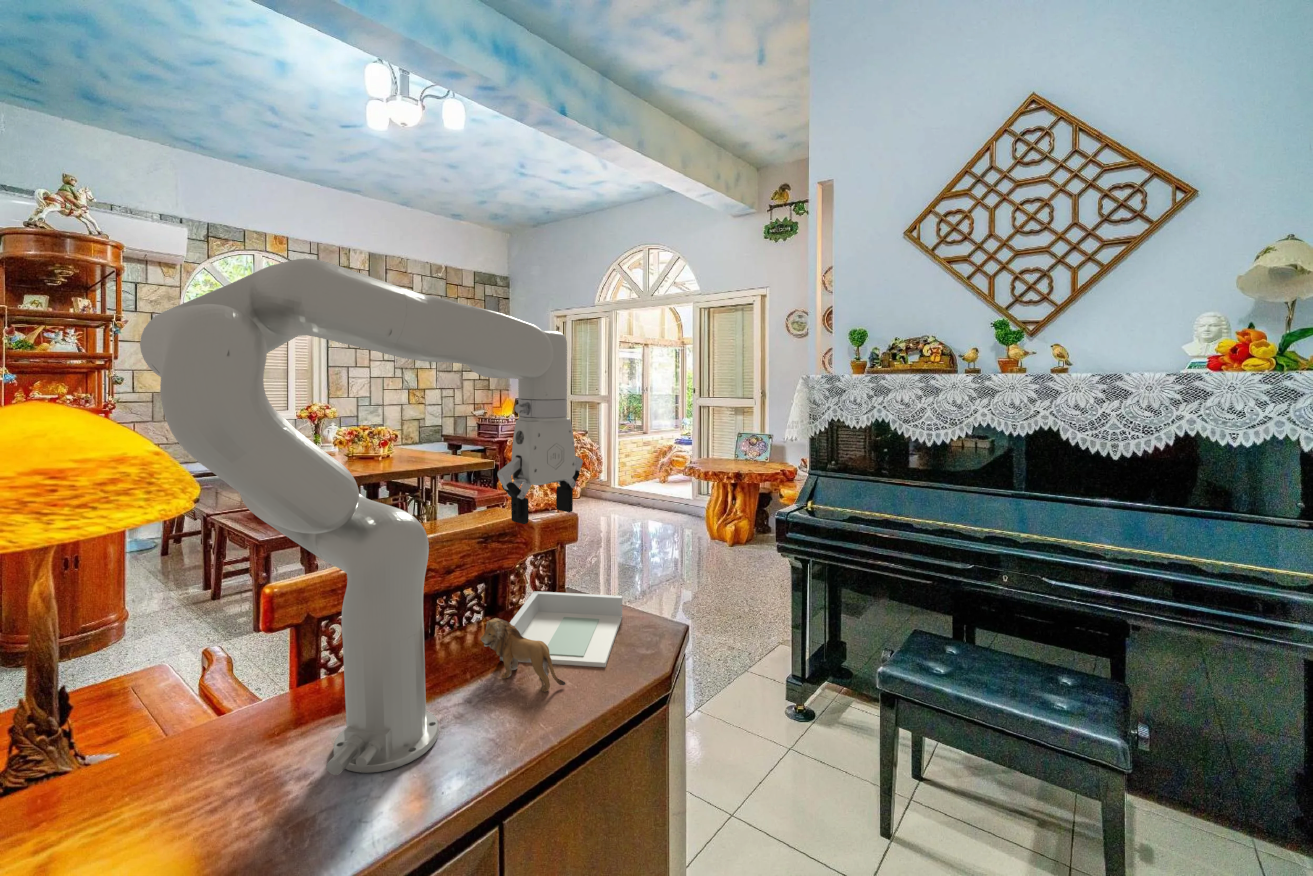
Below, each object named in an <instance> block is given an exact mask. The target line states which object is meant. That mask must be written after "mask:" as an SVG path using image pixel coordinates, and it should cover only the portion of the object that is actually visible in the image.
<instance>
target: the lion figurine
mask: <svg viewBox="0 0 1313 876" xmlns="http://www.w3.org/2000/svg"><path fill="white" fill-rule="evenodd" d="M485 624H486V626H485V632H484V634H483V635H482V636H480V640H481V642H482V643H483V646H484V647H489V648H490V649H491V650H493V651H495V652H496V655H497V656H498V657H500V656H501V657H503V661H502V662H503V666H504V669H505V672H503V673H502V674H501V678H502V679H508V678H510V677H511V676H512V671H516V670H517V669H518V667H519V662H518V660H519V661H522V662H521V663H529V662H530V661H531V666H532V668H533V670H534V672H535V673H536V675H537V676H538V677H539V678H540V679H541V680H542V683H543V684H542V685H541V691H542V692H544V693H546V692H548V691H549V690H550V687H551V684H550V679H549V674H551V676H552V679H554V681H555V682H556V683H557V684H558V685H559V686H566V682H565V681H564V680H563V679H559V677H557V676H556V673H555V670H554V664H552V661H551V657H550V654H549V648H548V646H547V645H546V644H545V643H544V642H542V641H535V640H529V639H527V638H524V637H522V636H521V634H520V633H519V631H518V630H517V629H516V628H515V626H513V625H511V623H510V622H509V621H507V620H504V619H501V618H498V617H495V618H492V619H489V620H487V621H486V623H485Z"/></svg>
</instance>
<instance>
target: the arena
mask: <svg viewBox="0 0 1313 876" xmlns="http://www.w3.org/2000/svg"><path fill="white" fill-rule="evenodd" d="M620 605H622V606H620ZM622 620H623V595H613V594H612V595H611V594H610V595H609V594H595V593H594V594H593V593H592V594H591V593H575V592H574V593H573V592H559V591H558V592H557V591H555V592H553V591H540V590H539V591H538V590H537V591H533V592H532V593H531V594H530V596H529V597H528V598H527V599H526V600H525V602H524V603H523V604H522V606H521V607H520V609H519V610H518V611H517V612H516V614H515V615H514V616H513V618H511V620H510V622H509V623H511V625H513V626H515V628H516V629H517V630H518V631H519V633H520V634H521V636H522V637H524V638H527V639H529V640H535V641H542V642H544V643H545V644H546V645H547V646H548V648H549V654H550V657H551V661H552V665H561V666H564V665H566V666H576V667H577V666H579V667H596V668H606V666H607V663H608V660H609V657H610V654H611V651H612V649H613V647H614V643H615V640H616V637H617V634H618V631H619V627H620V625H621V623H622ZM499 661H501V662H503V657H501V656H499ZM518 663H523V662H522V661H519V660H518ZM528 663H531V661H530V662H528ZM531 664H532V663H531Z"/></svg>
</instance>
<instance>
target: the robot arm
mask: <svg viewBox="0 0 1313 876" xmlns="http://www.w3.org/2000/svg"><path fill="white" fill-rule="evenodd" d="M301 336H305V337H306V336H307V337H314V338H318V339H323V340H326V341H331V342H335V343H339V344H344V345H348V346H352V347H356V348H361V349H364V350H365V349H366V350H369V351H372V352H373V351H374V352H377V353H380V354H384V355H389V356H392V357H393V356H394V357H396V358H400V359H401V358H402V359H405V360H406V359H407V360H412V361H413V360H414V361H420V362H428V363H450V364H452V363H453V364H461V365H467V366H468V368H469V369H470V370H471V371H473V373H475V374H477V375H479V376H482V377H485V378H489V379H490V378H491V379H511V380H512V379H513V380H518V381H517V386H518V387H517V388H518V395H517V396H518V404H517V403H516V405H515V406H514V411H515V412H516V414H518V419H516V421H515V425H514V429H513V438H512V446H511V447H512V449H511V461H509V462H508V463H507V464H506V465H505V466H503V467H501V469H500V470H498V471H497V477H498V480H499V482H500V485H501V487H502V490H504V491H505V492H506V493H507V497H509V498H511V503H510V505H511V508H510V509H511V510H510V511H511V512H510V513H511V514H510V516H511V521H512V522H514V523H517V524H522V525H526V524H528V523H529V521H530V520H529V516H530V515H529V498H528V497H526V496H527V494H528V492H529V491H530V489H531V487H532V486H543V485H548V484H553V483H554V484H555V483H558V486H556V494H555V495H556V499H555V500H556V505H555V508H556V510H558V511H560V512H565V513H572V512H573V510H574V508H573V506H574V505H573V499H574V497H573V496H574V491H573V489H574V488H576V485H577V484H576V481H577V480H578V478H579V476H580V471H581V468H582V465H583V462H584V460H583V459H582V458H581V457H578V456H577V455H576V450H575V438H574V431H573V430H574V429H573V425H572V422H571V421H572V420H571V418H568V340H567V338H566V336H565V334H563V333H562V332H559V331H553V330H542V329H541V328H539V326H537V325H535V324H532V323H529V322H527V321H523V320H521V319H518V318H516V317H513V316H510V315H506V314H505V313H500V312H497V311H494V310H490V309H486V308H482V307H478V306H473V305H470V304H463V303H461V302H455V301H453V300H449V299H445V298H442V297H436V296H431V295H428V294H424V293H421V292H418V291H417V292H416V291H413V290H410V289H407V288H405V287H401V286H399V285H395V284H392V283H389V282H388V281H387V282H386V281H384V280H382V279H378V278H375V277H373V276H369V275H367V274H363V273H361V272H358V271H355V270H352V269H349V268H346V267H343V266H341V265H337V264H334V263H331V262H328V261H324V260H321V259H320V260H319V259H316V258H315V259H314V258H306V257H305V258H297V259H292V260H287V261H284V262H280V263H275V264H272V265H269V266H266V267H264V268H262V269H259V270H257V271H255V272H253V273H251V274H249V275H246V276H244V277H242V278H240V279H238V280H235V281H234V282H230V283H229V284H226V285H224V286H222V287H219V288H217V289H214V290H212V291H209V292H208V293H205V294H203V295H200V296H198V297H196V298H193V299H190V300H187V301H186V302H183V303H180V304H179V305H175V306H173V307H171V308H168V309H167V310H164V311H162V312H160V313H159V314H157V315H155V316H154V317H153V318H152V319H150V321H149V322H147V324H146V325H145V327H144V328H143V331H142V333H141V336H140V343H139V347H140V353H141V355H142V358H143V360H144V362H145V363H146V365H147V366H148V368H149V369H150V370H151V371H152V372H153V373H155V374H156V375H157V376H158V377H160V386H159V387H160V400H161V407H162V411H163V414H164V417H165V421H166V423H167V425H168V427H169V429H170V432H171V433H172V435H173V437H174V438H175V440H176V441H177V443H178V444H179V445H180V446H181V447H182V448H183V449H184V451H186V453H187V454H189V455H190V456H191V457H192V458H193V459H195V460H196V462H198V463H199V464H201V465H202V466H203V467H204V468H206V469H208V471H210V472H211V473H213V474H214V475H215V476H217V477H218V478H219V479H221V481H223V482H225V483H226V484H227V485H228V486H230V487H231V488H232V489H234V490H236V491H237V492H238V493H239V495H240V498H241V500H242V502H243V505H245V507H246V508H247V509H248V510H249V511H250V512H251V513H252V514H253V515H255V516H256V517H257V518H258V519H260V520H261V521H263V523H265V524H267V525H269V526H270V527H271V528H273V529H275V530H276V531H278V532H279V533H281V534H283V536H285V537H286V538H289V539H290V540H291V541H293V542H294V543H295V544H298V545H299V546H301V547H302V548H304V549H305V550H307V551H308V552H310V553H311V554H313V555H314V556H316V557H317V558H319V559H320V560H323V561H324V562H326V563H328V564H330V565H331V566H333V567H335V568H338V569H340V570H341V571H342V572H344V573H346V579H347V580H346V582H347V584H346V589H345V593H344V596H343V602H342V607H341V638H342V652H343V653H342V654H343V656H342V657H343V671H344V672H343V678H344V701H345V702H344V703H345V722H346V727H345V728H344V729H343V730H342V731H341V732H340V733H339V735H337V736H336V739H335V740H334V743H333V749H332V750H333V756H332V758H331V759H330V760H329V761H328V762H327V763H326V770H327V771H328V773H329V774H331V775H333V776H338V775H340V774H341V773H342V772H343V771H344V770H348V771H349V772H350V771H351V772H355V773H363V774H365V773H366V774H369V773H379V772H385V771H389V770H390V771H391V770H393V769H397V768H400V767H402V766H406V765H407V764H410V763H412V762H413V761H416V760H417V759H418V758H420V757H422V756H423V755H424V754H426V753H427V752H428V751H429V750H430V749H431V748H432V747H433V746H434V744H435V743H436V741H437V739H438V738H439V734H440V733H439V731H440V729H439V725H440V724H439V721H438V719H437V717H436V716H435V715H434V714H433V713H432V712H430V711H428V710H427V702H426V701H427V700H426V699H427V698H426V697H427V695H426V659H425V657H426V655H425V622H424V590H425V589H424V586H425V577H426V573H427V566H428V560H429V553H430V551H429V550H430V546H429V544H430V542H429V538H428V534H427V531H426V529H425V527H424V526H423V524H422V523H421V522H420V521H419V520H418V519H417V518H416V517H415V516H414V515H412V514H411V513H409V512H407V511H406V510H403V509H401V508H398V507H395V506H392V505H389V504H385V503H382V502H380V501H375V500H371V499H369V498H367V497H366V496H364V495H362V494H361V493H360V490H359V487H358V484H357V481H356V479H355V477H354V476H353V474H352V473H351V471H350V470H349V469H348V468H346V466H345V465H344V464H342V463H341V462H340V461H338V460H337V459H336V458H334V457H333V456H331V455H330V454H329V453H327V452H326V451H324V450H323V449H322V448H321V447H319V446H318V445H316V444H315V443H314V442H313V441H312V440H311V439H309V438H308V437H307V436H306V435H304V434H303V433H301V432H300V431H299V430H298V429H297V428H295V426H293V425H292V424H291V423H290V422H289V421H288V420H287V419H286V418H285V417H284V416H282V414H280V413H279V412H278V411H277V410H276V409H275V408H274V406H273V405H272V403H271V402H270V401H269V398H268V396H267V394H266V390H265V386H264V384H265V382H264V377H265V376H264V374H265V370H266V369H265V368H266V363H267V356H268V355H267V354H268V353H270V352H272V351H274V350H276V349H278V348H280V347H282V346H283V345H284V344H286V343H288V342H290V341H291V340H293V339H295V338H297V337H301Z"/></svg>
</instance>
